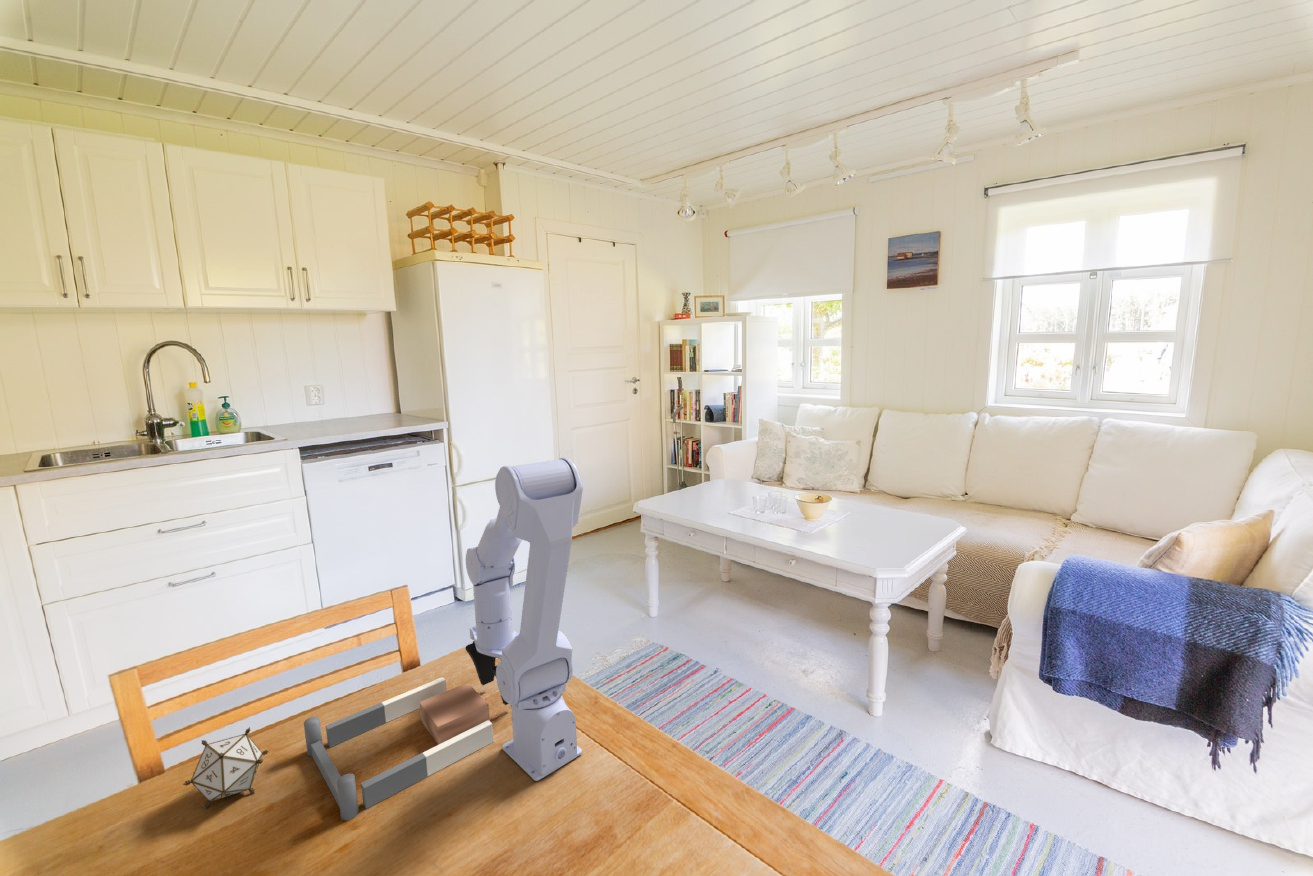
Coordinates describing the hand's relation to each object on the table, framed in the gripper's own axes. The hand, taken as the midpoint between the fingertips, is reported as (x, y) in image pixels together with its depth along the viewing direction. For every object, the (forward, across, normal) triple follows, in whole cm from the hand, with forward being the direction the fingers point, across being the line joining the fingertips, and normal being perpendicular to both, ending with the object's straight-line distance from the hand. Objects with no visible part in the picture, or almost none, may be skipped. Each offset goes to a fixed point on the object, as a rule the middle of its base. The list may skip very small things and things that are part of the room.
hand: (498, 691), depth 96 cm
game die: (+2, +7, +36) cm, 36 cm away
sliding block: (+2, 0, +8) cm, 8 cm away
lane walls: (+2, 0, +11) cm, 11 cm away
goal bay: (+2, 0, +21) cm, 21 cm away
